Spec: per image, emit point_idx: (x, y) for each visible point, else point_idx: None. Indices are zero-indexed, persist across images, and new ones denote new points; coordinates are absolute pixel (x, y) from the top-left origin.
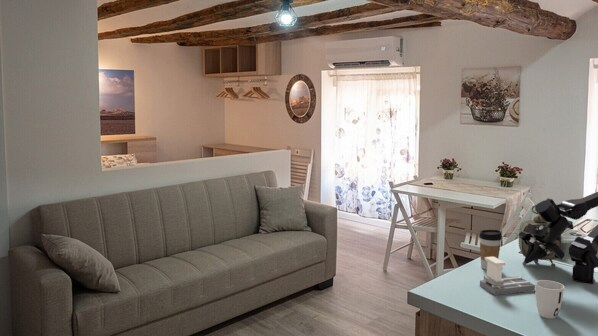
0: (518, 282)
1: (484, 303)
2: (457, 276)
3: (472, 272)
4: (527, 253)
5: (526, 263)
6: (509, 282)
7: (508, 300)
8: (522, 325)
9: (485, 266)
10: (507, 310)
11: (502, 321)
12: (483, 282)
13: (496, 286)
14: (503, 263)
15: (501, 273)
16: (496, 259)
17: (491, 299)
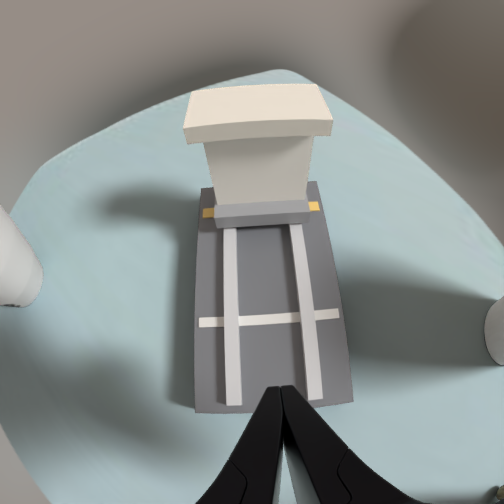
0: (234, 328)
1: (160, 153)
2: (408, 174)
3: (456, 242)
4: (327, 444)
5: (500, 499)
6: (268, 295)
7: (146, 227)
8: (36, 190)
9: (497, 303)
10: (95, 190)
11: (68, 160)
12: None
13: None
14: (186, 124)
15: (210, 174)
16: (261, 108)
17: (176, 180)
